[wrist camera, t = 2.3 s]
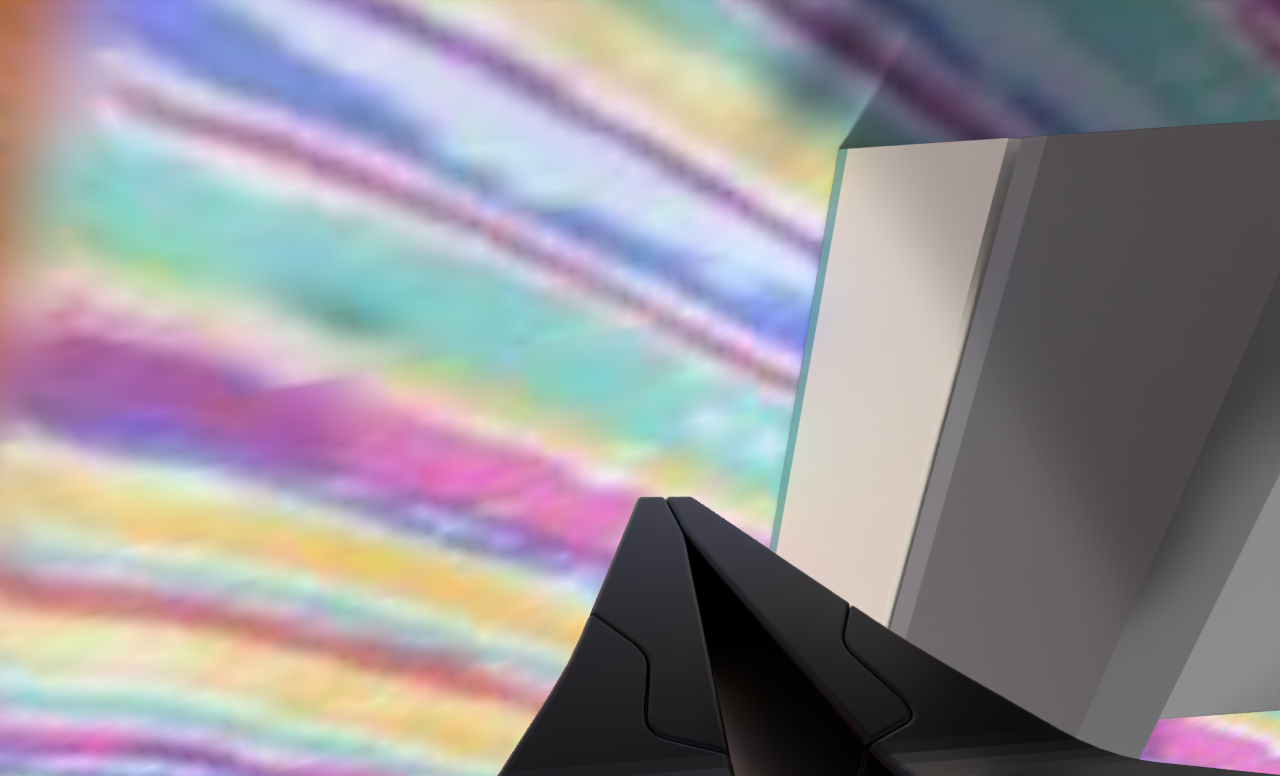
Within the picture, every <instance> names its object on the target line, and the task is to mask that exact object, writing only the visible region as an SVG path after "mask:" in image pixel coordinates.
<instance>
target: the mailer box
mask: <svg viewBox="0 0 1280 776" xmlns="http://www.w3.org/2000/svg"><path fill="white" fill-rule="evenodd" d="M1021 141H1022V139H1014V138H1001V139H986V140H971V141H956V142H941V143H926V144H911V145H896V146H882V147H867V148H852V149H839V151H838V157H837V163H836V169H835V174H834V180H833V186H832V192H831V198H830V203H829V209H828V215H827V221H826V227H825V232H824V238H823V244H822V250H821V255H820V261H819V267H818V273H817V279H816V284H815V290H814V296H813V302H812V308H811V313H810V319H809V325H808V331H807V337H806V342H805V348H804V354H803V360H802V365H801V371H800V377H799V383H798V389H797V394H796V400H795V406H794V412H793V418H792V423H791V429H790V435H789V441H788V447H787V452H786V458H785V464H784V470H783V475H782V481H781V487H780V493H779V499H778V504H777V510H776V516H775V522H774V528H773V533H772V539H771V545H770V550H771V551H773V552H774V553H776V554H777V555H779V556H780V557H782V558H783V559H785V560H786V561H788V562H789V563H791V564H792V565H794V566H795V567H797V568H798V569H800V570H801V571H803V572H804V573H806V574H807V575H808V576H810V577H811V578H813V579H814V580H816V581H817V582H819V583H820V584H822V585H823V586H825V587H826V588H828V589H829V590H831V591H832V592H834V593H835V594H837V595H838V596H840V597H841V598H843V599H844V600H846V601H847V602H848V603H849V604H850V607H851V606H855V607H856V608H858V609H859V610H861V611H862V612H864V613H865V614H867V615H868V616H870V617H871V618H873V619H874V620H876V621H877V622H879V623H880V624H882V625H883V626H885V627H887V628H888V629H890V627H891V624H892V620H893V616H894V612H895V609H896V605H897V601H898V598H899V594H900V590H901V586H902V583H903V579H904V575H905V572H906V568H907V564H908V560H909V557H910V553H911V549H912V546H913V542H914V538H915V534H916V531H917V527H918V523H919V520H920V516H921V512H922V508H923V505H924V501H925V497H926V494H927V490H928V486H929V482H930V479H931V475H932V471H933V468H934V464H935V460H936V456H937V453H938V449H939V445H940V442H941V438H942V434H943V430H944V427H945V423H946V419H947V416H948V412H949V408H950V404H951V401H952V397H953V393H954V390H955V386H956V382H957V378H958V375H959V371H960V367H961V364H962V360H963V356H964V352H965V349H966V345H967V341H968V338H969V334H970V330H971V326H972V323H973V319H974V315H975V312H976V308H977V304H978V300H979V297H980V293H981V289H982V286H983V282H984V278H985V274H986V271H987V267H988V263H989V260H990V256H991V252H992V248H993V245H994V241H995V237H996V234H997V230H998V226H999V222H1000V219H1001V215H1002V211H1003V208H1004V204H1005V200H1006V196H1007V193H1008V189H1009V185H1010V182H1011V178H1012V174H1013V170H1014V167H1015V163H1016V159H1017V156H1018V152H1019V148H1020V144H1021ZM850 607H849V608H850Z"/></svg>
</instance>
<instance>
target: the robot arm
mask: <svg viewBox="0 0 1280 776" xmlns="http://www.w3.org/2000/svg"><path fill="white" fill-rule="evenodd" d="M849 607H850V604H849V603H848V602H847V601H846V600H844V599H843V598H841V597H840V596H838V595H837V594H835V593H834V592H832V591H831V590H829V589H828V588H826V587H825V586H823V585H822V584H820V583H819V582H817V581H816V580H814V579H813V578H811V577H810V576H808V575H807V574H806V573H804V572H803V571H801V570H800V569H798V568H797V567H795V566H794V565H792V564H791V563H789V562H788V561H786V560H785V559H783V558H782V557H780V556H779V555H777V554H776V553H774V552H773V551H771V550H770V549H768V548H767V547H765V546H764V545H762V544H761V543H759V542H758V541H756V540H755V539H753V538H752V537H750V536H749V535H747V534H746V533H744V532H743V531H741V530H740V529H739V528H737V527H736V526H734V525H733V524H731V523H730V522H728V521H727V520H725V519H724V518H722V517H721V516H719V515H718V514H716V513H715V512H713V511H712V510H710V509H709V508H707V507H706V506H704V505H703V504H701V503H700V502H698V501H697V500H695V499H694V498H692V497H668V498H667V499H666V500H665V499H664V498H663V497H640V498H639V499H638V500H637V502H636V505H635V507H634V510H633V512H632V514H631V517H630V519H629V522H628V524H627V527H626V529H625V531H624V534H623V536H622V539H621V541H620V543H619V546H618V548H617V551H616V553H615V556H614V558H613V560H612V563H611V565H610V568H609V570H608V572H607V575H606V577H605V580H604V582H603V585H602V587H601V589H600V592H599V594H598V597H597V599H596V601H595V604H594V606H593V609H592V611H591V614H590V617H589V618H588V620H587V622H586V625H585V627H584V630H583V632H582V634H581V637H580V639H579V641H578V643H577V645H576V647H575V649H574V651H573V654H572V656H571V658H570V660H569V662H568V664H567V666H566V667H565V669H564V671H563V672H562V674H561V676H560V678H559V679H558V681H557V683H556V684H555V686H554V688H553V690H552V691H551V693H550V695H549V696H548V698H547V699H546V701H545V702H544V704H543V705H542V707H541V709H540V710H539V712H538V713H537V715H536V716H535V718H534V720H533V721H532V723H531V724H530V726H529V727H528V729H527V731H526V732H525V734H524V735H523V737H522V738H521V740H520V741H519V743H518V745H517V746H516V748H515V749H514V751H513V752H512V754H511V756H510V757H509V759H508V760H507V762H506V763H505V765H504V767H503V768H502V770H501V771H500V773H499V774H498V776H1280V775H1275V774H1265V773H1255V772H1246V771H1236V770H1227V769H1217V768H1208V767H1198V766H1188V765H1179V764H1169V763H1160V762H1152V761H1145V760H1140V759H1136V758H1131V757H1127V756H1123V755H1119V754H1116V753H1113V752H1110V751H1107V750H1104V749H1101V748H1098V747H1096V746H1094V745H1091V744H1089V743H1087V742H1084V741H1082V740H1080V739H1077V738H1075V737H1074V736H1072V735H1070V734H1068V733H1066V732H1064V731H1062V730H1060V729H1059V728H1057V727H1055V726H1053V725H1051V724H1050V723H1048V722H1046V721H1045V720H1043V719H1041V718H1039V717H1038V716H1036V715H1034V714H1032V713H1031V712H1029V711H1027V710H1025V709H1024V708H1022V707H1020V706H1018V705H1017V704H1015V703H1013V702H1011V701H1010V700H1008V699H1006V698H1004V697H1003V696H1001V695H999V694H997V693H996V692H994V691H992V690H990V689H989V688H987V687H985V686H983V685H982V684H980V683H978V682H976V681H975V680H973V679H971V678H970V677H968V676H966V675H964V674H963V673H961V672H959V671H957V670H956V669H954V668H952V667H950V666H949V665H947V664H945V663H944V662H942V661H940V660H939V659H937V658H935V657H933V656H932V655H930V654H928V653H927V652H925V651H923V650H922V649H920V648H918V647H917V646H915V645H913V644H912V643H910V642H908V641H907V640H905V639H904V638H902V637H901V636H899V635H897V634H896V633H894V632H893V631H891V630H890V629H888V628H887V627H885V626H883V625H882V624H880V623H879V622H877V621H876V620H874V619H873V618H871V617H870V616H868V615H867V614H865V613H864V612H862V611H861V610H859V609H858V608H856V607H855V606H851V607H850V608H849Z"/></svg>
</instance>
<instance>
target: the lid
mask: <svg viewBox="0 0 1280 776" xmlns="http://www.w3.org/2000/svg"><path fill="white" fill-rule="evenodd" d="M890 630H891V631H893V632H894V633H896V634H897V635H899V636H901V637H902V638H904V639H905V640H907V641H908V642H910V643H912V644H913V645H915V646H917V647H918V648H920V649H922V650H923V651H925V652H927V653H928V654H930V655H932V656H933V657H935V658H937V659H939V660H940V661H942V662H944V663H945V664H947V665H949V666H950V667H952V668H954V669H956V670H957V671H959V672H961V673H963V674H964V675H966V676H968V677H970V678H971V679H973V680H975V681H976V682H978V683H980V684H982V685H983V686H985V687H987V688H989V689H990V690H992V691H994V692H996V693H997V694H999V695H1001V696H1003V697H1004V698H1006V699H1008V700H1010V701H1011V702H1013V703H1015V704H1017V705H1018V706H1020V707H1022V708H1024V709H1025V710H1027V711H1029V712H1031V713H1032V714H1034V715H1036V716H1038V717H1039V718H1041V719H1043V720H1045V721H1046V722H1048V723H1050V724H1051V725H1053V726H1055V727H1057V728H1059V729H1060V730H1062V731H1064V732H1066V733H1068V734H1070V735H1072V736H1074V737H1075V738H1077V739H1080V740H1082V741H1084V742H1087V743H1089V744H1091V745H1094V746H1096V747H1098V748H1101V749H1104V750H1107V751H1110V752H1113V753H1116V754H1119V755H1123V756H1127V757H1131V758H1136V759H1139V757H1140V755H1141V753H1142V751H1143V749H1144V747H1145V745H1146V743H1147V741H1148V739H1149V737H1150V735H1151V733H1152V731H1153V729H1154V727H1155V725H1156V723H1157V721H1158V719H1170V718H1184V717H1197V716H1210V715H1224V714H1237V713H1250V712H1263V711H1277V710H1280V120H1269V121H1254V122H1239V123H1224V124H1209V125H1194V126H1179V127H1164V128H1150V129H1135V130H1120V131H1105V132H1090V133H1075V134H1060V135H1045V136H1030V137H1022V141H1021V144H1020V148H1019V152H1018V156H1017V159H1016V163H1015V167H1014V170H1013V174H1012V178H1011V182H1010V185H1009V189H1008V193H1007V196H1006V200H1005V204H1004V208H1003V211H1002V215H1001V219H1000V222H999V226H998V230H997V234H996V237H995V241H994V245H993V248H992V252H991V256H990V260H989V263H988V267H987V271H986V274H985V278H984V282H983V286H982V289H981V293H980V297H979V300H978V304H977V308H976V312H975V315H974V319H973V323H972V326H971V330H970V334H969V338H968V341H967V345H966V349H965V352H964V356H963V360H962V364H961V367H960V371H959V375H958V378H957V382H956V386H955V390H954V393H953V397H952V401H951V404H950V408H949V412H948V416H947V419H946V423H945V427H944V430H943V434H942V438H941V442H940V445H939V449H938V453H937V456H936V460H935V464H934V468H933V471H932V475H931V479H930V482H929V486H928V490H927V494H926V497H925V501H924V505H923V508H922V512H921V516H920V520H919V523H918V527H917V531H916V534H915V538H914V542H913V546H912V549H911V553H910V557H909V560H908V564H907V568H906V572H905V575H904V579H903V583H902V586H901V590H900V594H899V598H898V601H897V605H896V609H895V612H894V616H893V620H892V624H891V627H890Z"/></svg>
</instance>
